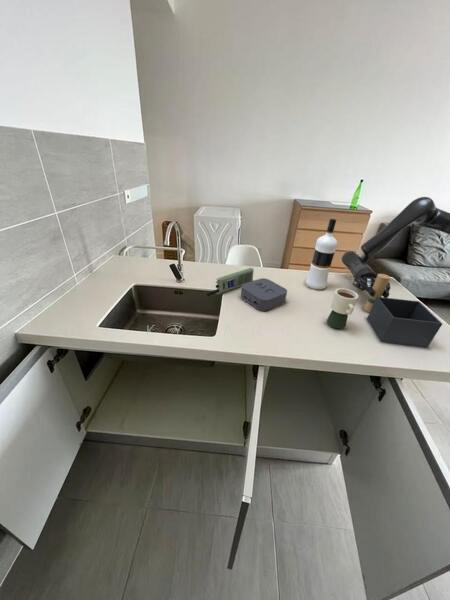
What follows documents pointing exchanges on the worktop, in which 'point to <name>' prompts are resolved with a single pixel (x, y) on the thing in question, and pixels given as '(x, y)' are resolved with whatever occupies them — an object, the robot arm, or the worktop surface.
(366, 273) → the robot arm
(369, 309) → the banded cardboard tube
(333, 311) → the character mug
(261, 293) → the streaming box
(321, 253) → the vodka
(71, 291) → the worktop surface
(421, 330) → the bin
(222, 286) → the handheld radio
